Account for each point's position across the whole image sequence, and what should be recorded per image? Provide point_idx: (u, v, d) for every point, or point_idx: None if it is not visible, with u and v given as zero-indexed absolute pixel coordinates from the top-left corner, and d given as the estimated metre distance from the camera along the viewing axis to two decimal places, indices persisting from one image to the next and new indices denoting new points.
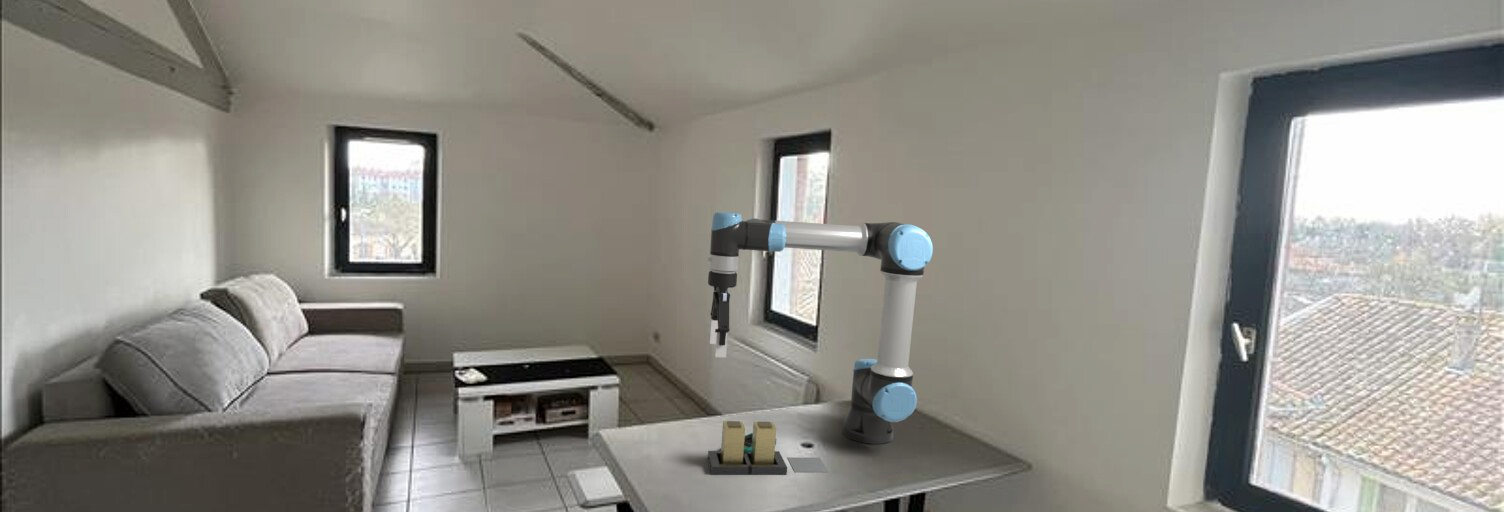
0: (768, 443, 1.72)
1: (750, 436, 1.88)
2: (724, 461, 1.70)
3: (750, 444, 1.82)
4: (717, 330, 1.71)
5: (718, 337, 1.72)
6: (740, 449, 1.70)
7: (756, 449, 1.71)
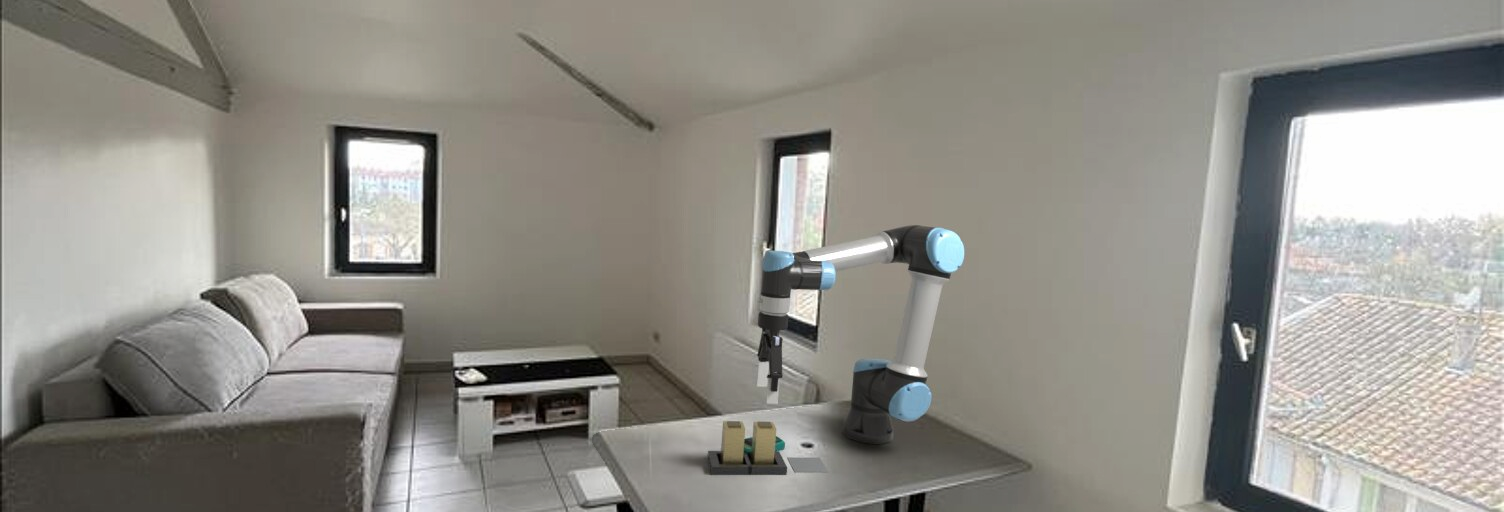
0: (768, 443, 1.72)
1: None
2: (724, 461, 1.70)
3: None
4: (769, 376, 1.63)
5: (770, 383, 1.65)
6: (740, 449, 1.70)
7: (756, 449, 1.71)
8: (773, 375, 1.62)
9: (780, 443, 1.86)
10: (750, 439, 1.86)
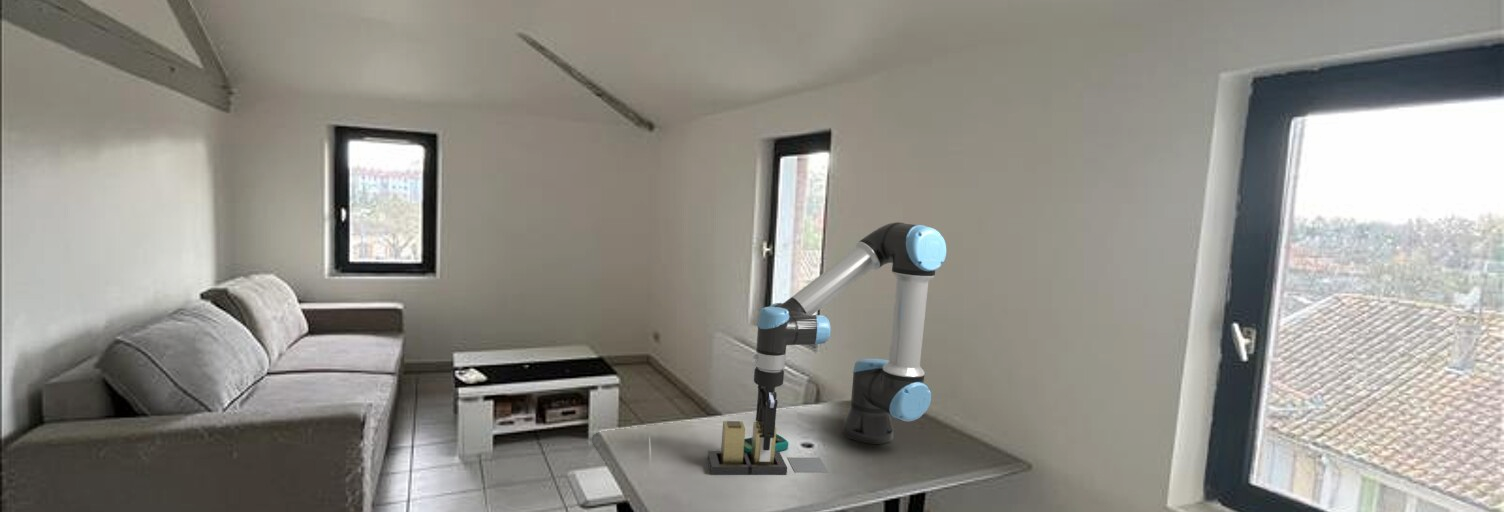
0: None
1: None
2: (724, 461, 1.70)
3: None
4: (761, 436, 1.69)
5: (762, 442, 1.70)
6: (740, 449, 1.70)
7: (756, 449, 1.71)
8: (765, 436, 1.67)
9: (783, 443, 1.85)
10: None
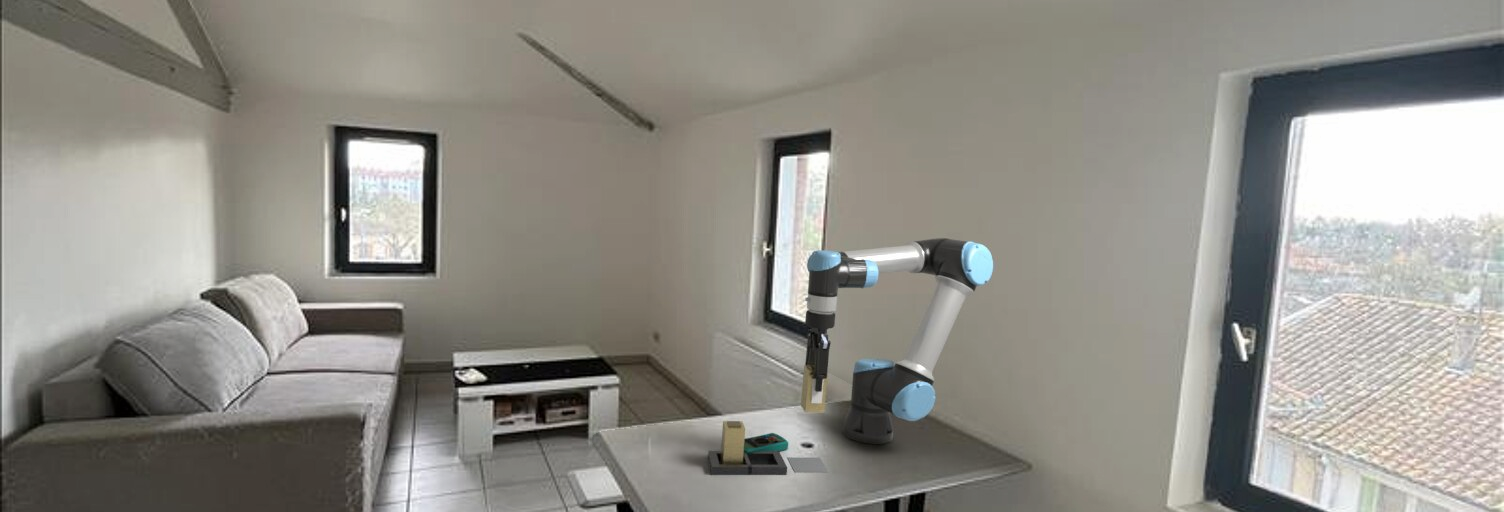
0: None
1: (762, 437, 1.88)
2: (724, 461, 1.70)
3: (758, 445, 1.82)
4: (814, 377, 1.71)
5: (814, 383, 1.72)
6: (740, 449, 1.70)
7: (808, 391, 1.73)
8: (818, 377, 1.69)
9: (783, 443, 1.85)
10: (753, 439, 1.86)
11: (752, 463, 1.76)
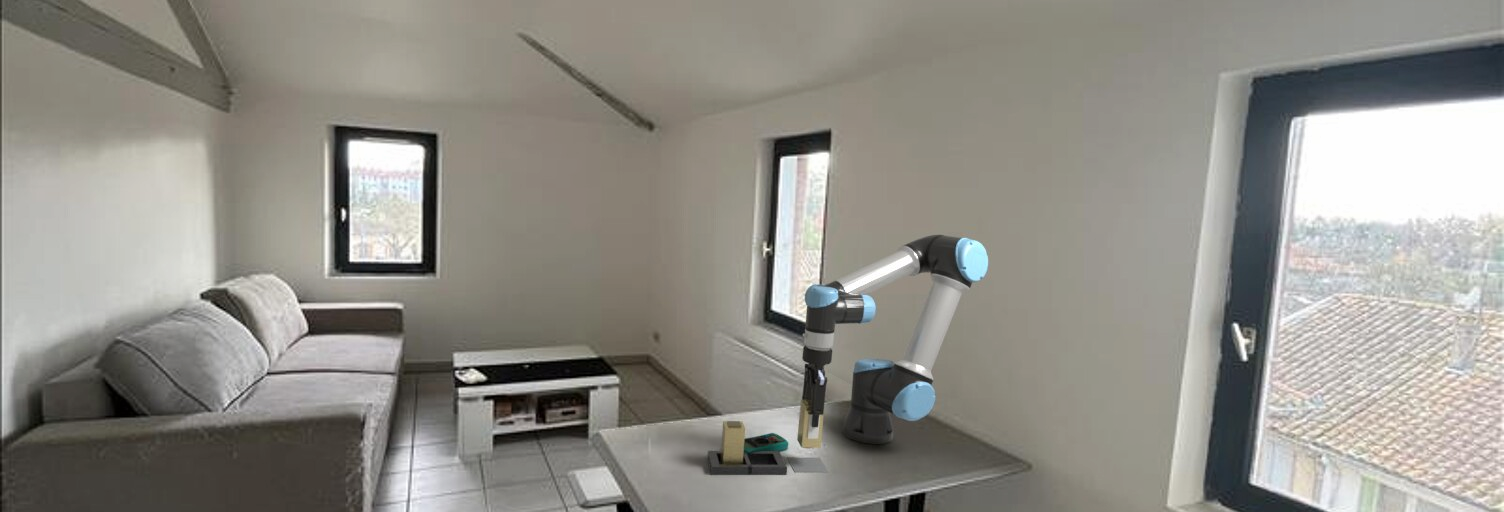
0: None
1: (762, 437, 1.88)
2: (724, 461, 1.70)
3: (758, 445, 1.82)
4: (810, 413, 1.72)
5: (811, 419, 1.73)
6: (740, 449, 1.70)
7: (804, 426, 1.74)
8: (815, 413, 1.70)
9: (783, 443, 1.85)
10: (753, 439, 1.86)
11: (752, 463, 1.76)
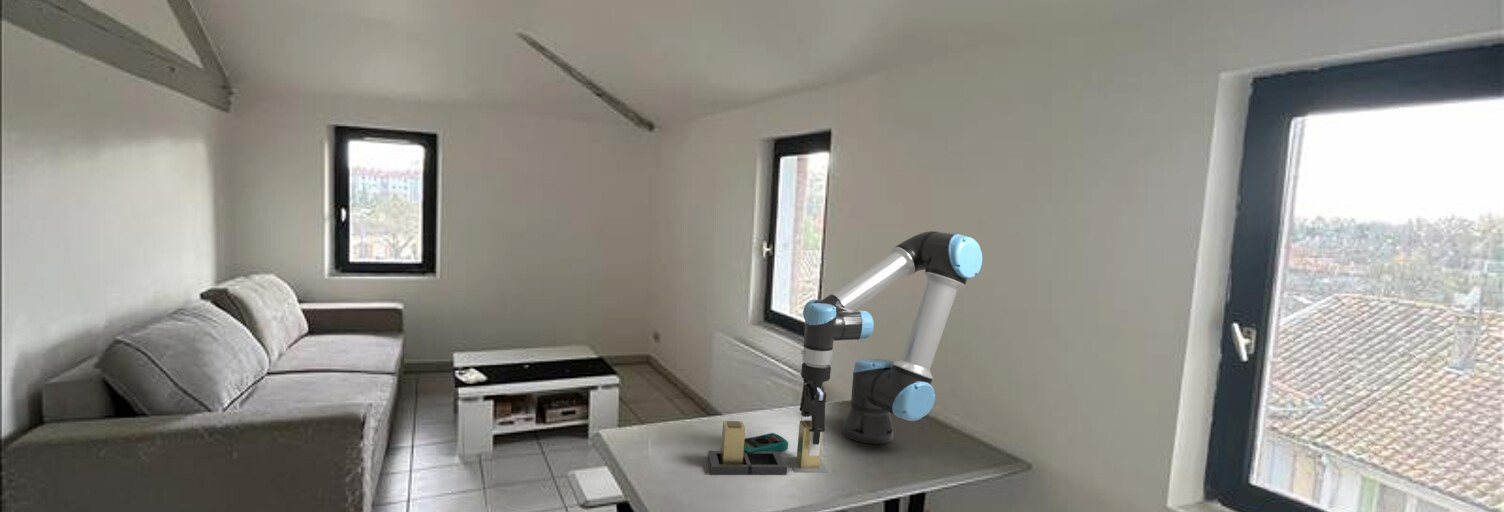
0: None
1: (762, 437, 1.88)
2: (724, 461, 1.70)
3: (758, 445, 1.82)
4: (812, 430, 1.70)
5: (812, 436, 1.72)
6: (740, 449, 1.70)
7: (803, 447, 1.74)
8: (816, 430, 1.68)
9: (783, 443, 1.85)
10: (753, 439, 1.86)
11: (752, 463, 1.76)
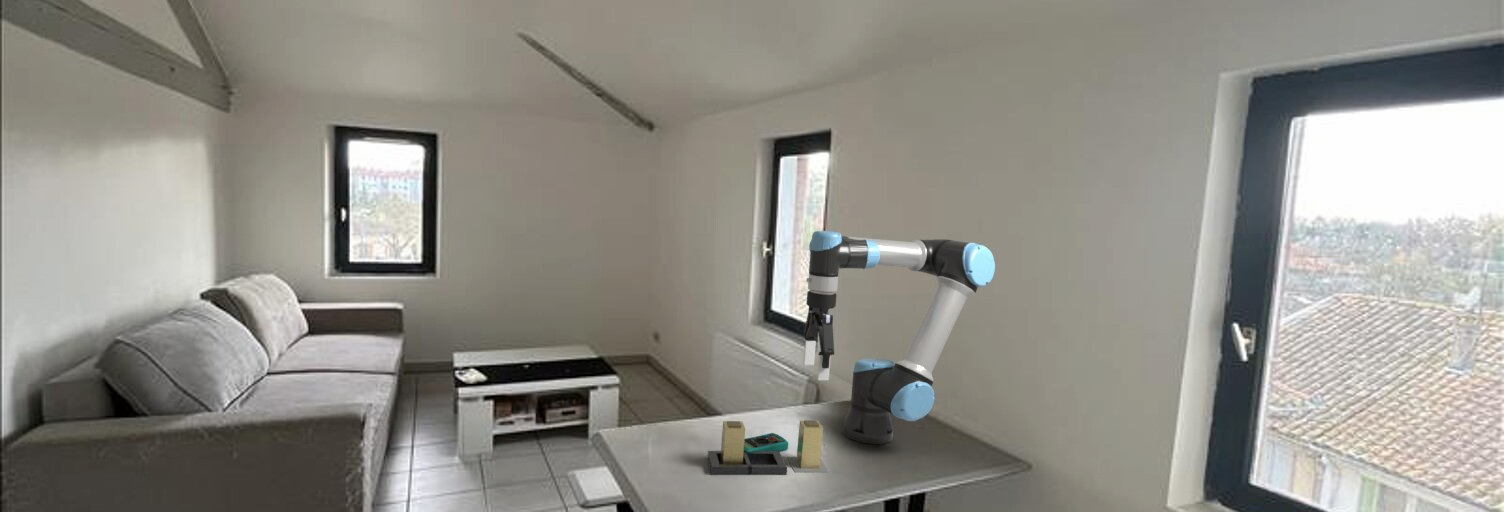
0: (814, 442, 1.75)
1: (762, 437, 1.88)
2: (724, 461, 1.70)
3: (758, 445, 1.82)
4: (821, 353, 1.67)
5: (821, 360, 1.68)
6: (740, 449, 1.70)
7: (803, 447, 1.74)
8: (825, 352, 1.65)
9: (783, 443, 1.85)
10: (753, 439, 1.86)
11: (752, 463, 1.76)
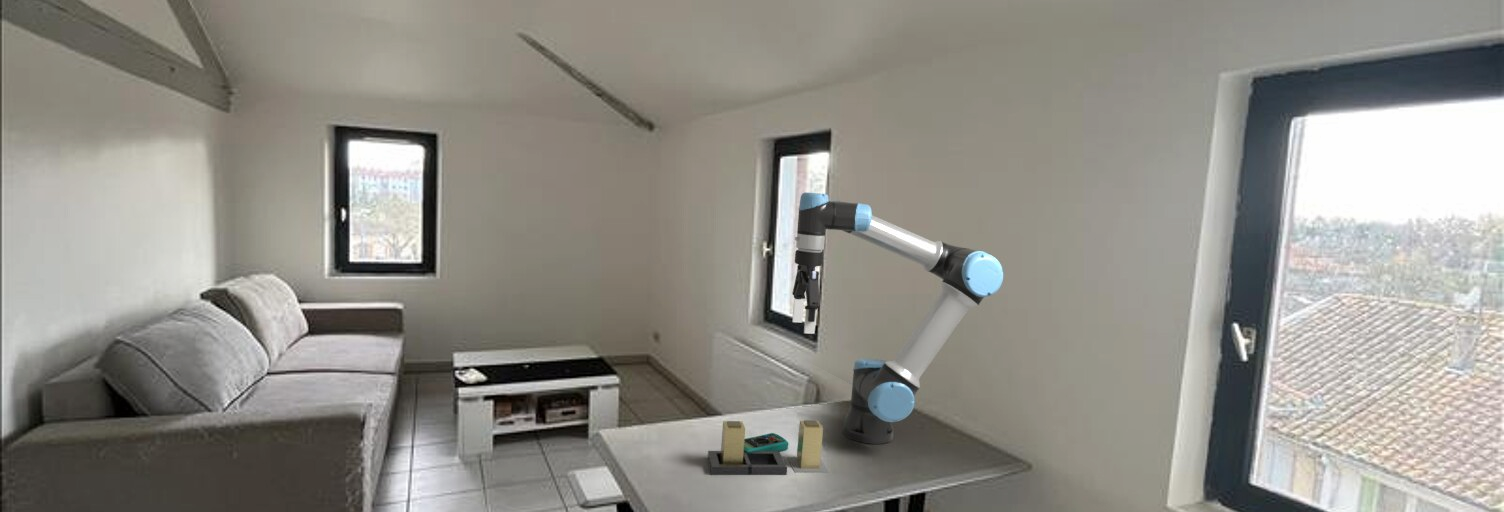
0: (814, 442, 1.75)
1: (762, 437, 1.88)
2: (724, 461, 1.70)
3: (758, 445, 1.82)
4: (807, 307, 1.75)
5: (807, 314, 1.77)
6: (740, 449, 1.70)
7: (803, 447, 1.74)
8: (811, 305, 1.74)
9: (783, 443, 1.85)
10: (753, 439, 1.86)
11: (752, 463, 1.76)
